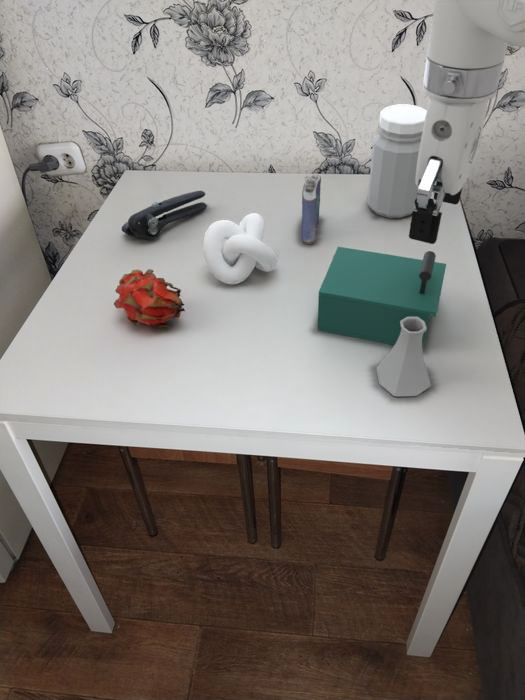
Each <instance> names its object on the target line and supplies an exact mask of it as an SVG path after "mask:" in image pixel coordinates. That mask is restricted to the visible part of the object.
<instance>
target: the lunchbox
mask: <svg viewBox="0 0 525 700" xmlns="http://www.w3.org/2000/svg"><path fill="white" fill-rule="evenodd" d="M406 317H419V318H420V319H421V320H423V321H424V322H425V324H426V328H427V330H426V331H425V332H424V333H423V336H422V351H423V350H424V347H425V341H426V336H427V331H428V326H429V324H430V323H429V322H430V318H431V315H428V314H422V313H417V312H411V311H406V310H400V309H395V308H389V307H384V306H378V305H373V304H367V303H362V302H356V301H351V300H345V299H340V298H334V297H329V296H324V295H319V294H318V304H317V327H316V328H317V329H316V330H317V331H320V332H325V333H329V334H334V335H335V334H336V335H340V336H345V337H351V338H356V339H359V340H360V339H361V340H365V341H371V342H376V343H381V344H385V345H392V346H394V345H395V344H396V342H397V340H398V338H399V335H400V333H401V325H400V321H401V320H403V319H404V318H406Z"/></svg>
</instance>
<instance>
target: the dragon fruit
mask: <svg viewBox="0 0 525 700" xmlns="http://www.w3.org/2000/svg"><path fill="white" fill-rule="evenodd" d="M118 284H119V285H117V286H116V288H115V293H116V294H118V295H119V297H118V298H117V299H115V301H114V302H113V305H114V307H115V308H116V309H124V311H125V314H126V317H127V319H128V321H129V322H130V323H131V324H132V325H133V326H137V325H138V324H139V322H140V323H141V324H144V325H147V326H150V327H154V328H156V329H157V328H165V327H168V326H171V324H169V323H166V322H167V321H168V320H171V319H175V318H177V319H179V318H180V316H181V313H182V312H186V309H185V307H183V306H185V303H183V301H182V298H180V296H181V292H182V290H181V288H178V287H176V286H174V285H173V283H171V282H168V281H167V282H166V279H164V277H157V276H156V274H155V273H154V270H153V269H146V271H145V272H143V271H142V270H141V269H133V270H132V271H131V272H130V273H124V274H123V275H122V277H121V278H120V279H119V281H118ZM167 287H169V288H170V289H169V288H167Z"/></svg>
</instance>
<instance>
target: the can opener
mask: <svg viewBox="0 0 525 700" xmlns="http://www.w3.org/2000/svg"><path fill="white" fill-rule="evenodd" d="M205 196H206V192H205V191H204V190H195V191H191V192H187V193H183V194H180V195H176V196H174V197H173V196H172V197H170V198H167V199H165V200H162V201H160V202H158V201H153V203H152V204H151V205H150V206H148V207H146V208H144V209H142V210H139V211H138V212H135V213H134V214H132V215H130V216H129V218H128V219H127V221H126V222H125V223H124V224H123V225H122V226H121V231H122V232H123V233H124V234H125V235H127V236H129V237H138V238H140V239H144V240H154V239H156V238H158V237H159V236H160V234H161V232H162V230H163V229H164V228H165V227H166V226H167V225H169V224H170V223H173V222H176V221H179V220H182V219H186V218H189V217H192V216H194V215H196V214H198V213H200V212H202V211H204V210H205V209H206V208H207V207H208V205H207V204H206V203H205V202H202V201H200V202H197V203H193V204H191V205H187V204H190V203H192V202H195V201H197V200H200V199H203V198H204V197H205ZM185 205H187V206H185ZM182 206H185V207H182ZM180 207H181V208H180ZM178 208H179V209H178ZM161 215H162V216H161Z"/></svg>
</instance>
